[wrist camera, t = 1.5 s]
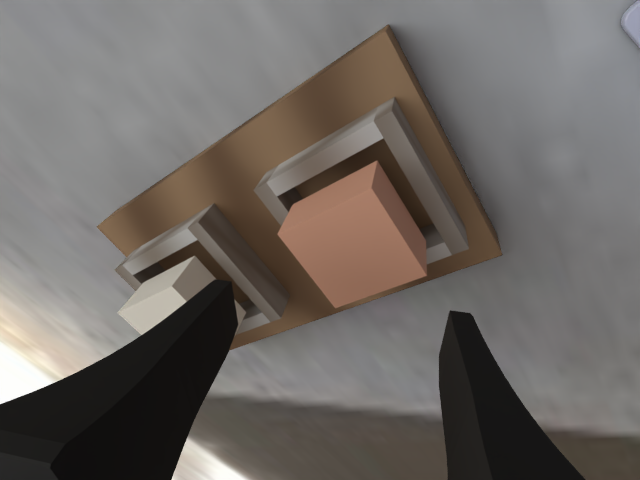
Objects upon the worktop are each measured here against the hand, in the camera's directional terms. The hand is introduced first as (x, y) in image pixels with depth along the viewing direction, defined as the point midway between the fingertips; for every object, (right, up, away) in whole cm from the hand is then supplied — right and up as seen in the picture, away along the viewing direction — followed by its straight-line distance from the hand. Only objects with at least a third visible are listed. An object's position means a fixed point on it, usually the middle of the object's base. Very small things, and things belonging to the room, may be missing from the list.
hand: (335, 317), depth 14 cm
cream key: (-8, -1, +10) cm, 13 cm away
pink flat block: (+1, +3, +5) cm, 6 cm away
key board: (-2, +4, +11) cm, 12 cm away
